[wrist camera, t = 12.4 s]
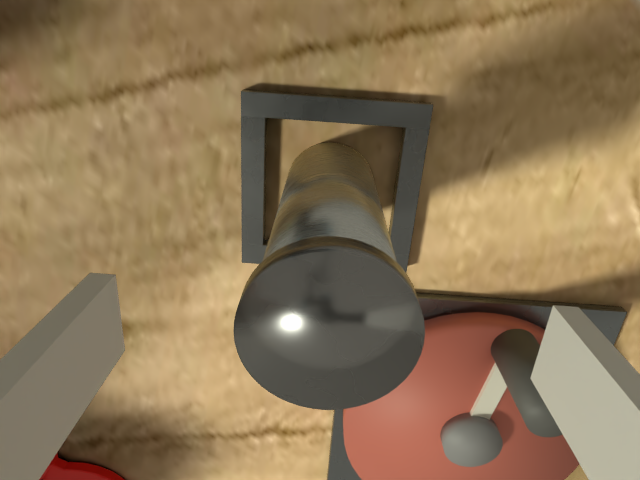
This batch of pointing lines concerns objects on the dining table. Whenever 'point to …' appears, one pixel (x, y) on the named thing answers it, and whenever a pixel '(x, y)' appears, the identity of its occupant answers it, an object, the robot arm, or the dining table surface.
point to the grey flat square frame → (340, 111)
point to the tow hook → (76, 471)
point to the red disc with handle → (463, 410)
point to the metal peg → (329, 291)
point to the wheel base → (434, 305)
